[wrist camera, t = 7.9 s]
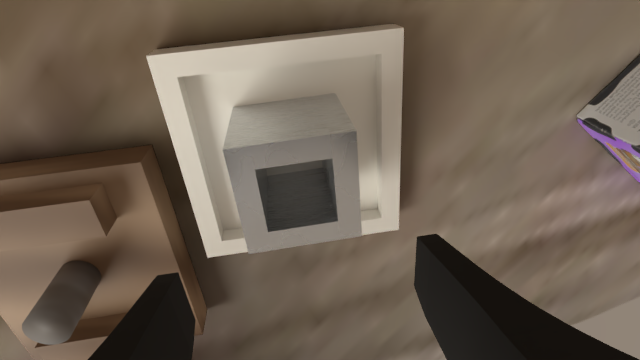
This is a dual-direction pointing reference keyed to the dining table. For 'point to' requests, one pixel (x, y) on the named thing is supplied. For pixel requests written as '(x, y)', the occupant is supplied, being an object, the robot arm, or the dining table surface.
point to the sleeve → (295, 187)
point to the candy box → (617, 118)
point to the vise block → (85, 247)
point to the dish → (274, 85)
